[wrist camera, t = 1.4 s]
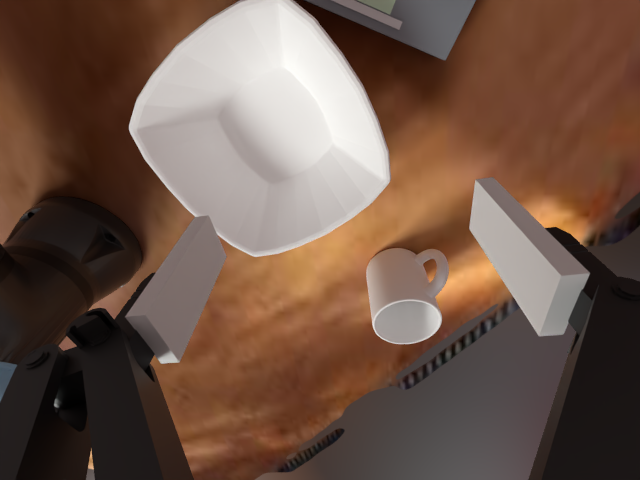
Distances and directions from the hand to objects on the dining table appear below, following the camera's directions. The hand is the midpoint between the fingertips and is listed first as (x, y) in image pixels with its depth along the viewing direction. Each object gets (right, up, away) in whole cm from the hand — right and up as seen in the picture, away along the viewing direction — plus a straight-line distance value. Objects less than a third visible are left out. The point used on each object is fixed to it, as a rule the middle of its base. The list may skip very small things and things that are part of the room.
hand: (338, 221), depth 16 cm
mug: (+11, -4, +30) cm, 32 cm away
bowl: (-6, +12, +20) cm, 23 cm away
